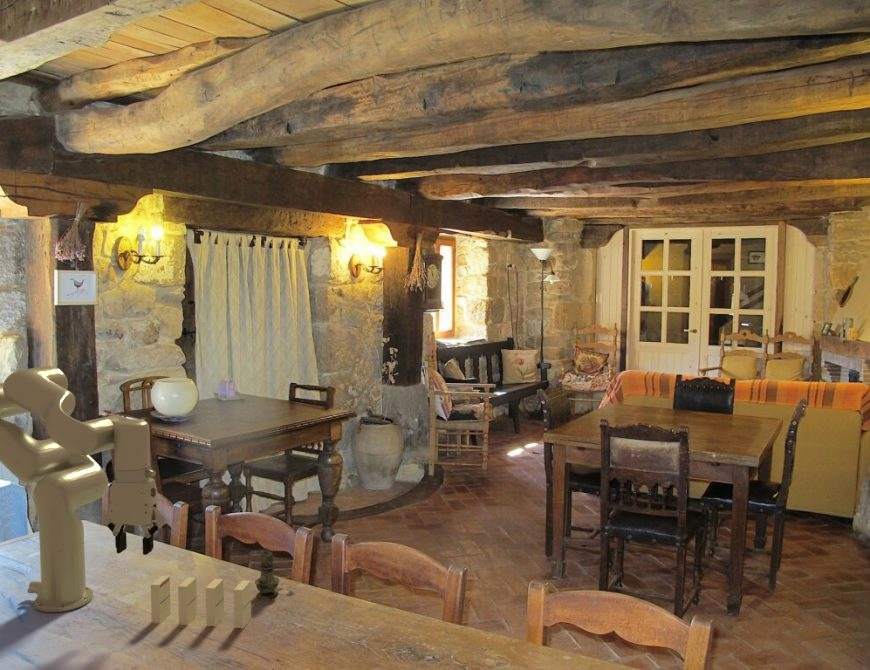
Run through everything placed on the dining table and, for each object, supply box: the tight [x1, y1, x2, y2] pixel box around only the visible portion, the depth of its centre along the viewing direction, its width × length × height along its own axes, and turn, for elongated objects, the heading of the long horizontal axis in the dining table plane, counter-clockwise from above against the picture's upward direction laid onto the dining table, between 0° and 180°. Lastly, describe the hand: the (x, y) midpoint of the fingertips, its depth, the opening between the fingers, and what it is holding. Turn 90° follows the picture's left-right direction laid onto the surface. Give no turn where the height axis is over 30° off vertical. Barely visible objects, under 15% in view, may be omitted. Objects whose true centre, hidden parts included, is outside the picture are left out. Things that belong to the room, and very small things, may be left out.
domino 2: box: [177, 576, 198, 626], centre depth 169 cm, size 2×5×9 cm, turn 173°
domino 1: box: [150, 575, 171, 624], centre depth 170 cm, size 2×5×9 cm, turn 173°
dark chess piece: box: [254, 547, 280, 601], centre depth 183 cm, size 6×6×12 cm
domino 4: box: [233, 579, 252, 630], centre depth 168 cm, size 2×5×9 cm, turn 173°
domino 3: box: [205, 578, 225, 628], centre depth 169 cm, size 2×5×9 cm, turn 173°
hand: (134, 551), depth 170 cm, fingers open, 5 cm apart
